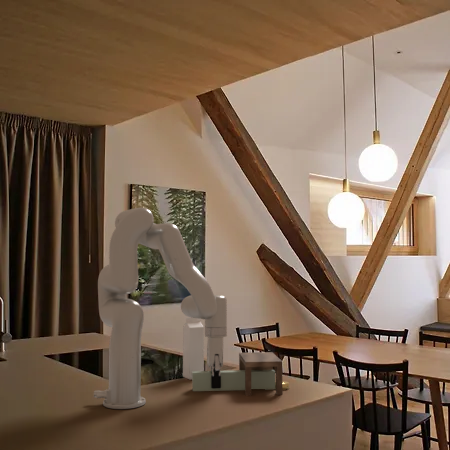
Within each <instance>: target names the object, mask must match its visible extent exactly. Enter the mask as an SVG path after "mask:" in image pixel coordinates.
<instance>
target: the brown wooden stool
mask: <svg viewBox="0 0 450 450" xmlns="http://www.w3.org/2000/svg"><path fill="white" fill-rule="evenodd" d="M238 358H239V359H238V364H239V365H238V366H239V367H238V370H245V390H244V395H245V396H252V390H251V370H274V367H275V382H276V389H275V394H276V395H280V396H283V393H284V392H283V390H282V381H283V361H282V359H280V358H279V357H278V356H277V355H276V354H275V353H274V352H273V351H266V352H265V351H264V352H262V351H261V352H257V351H256V352H238Z"/></svg>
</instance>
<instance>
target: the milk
mask: <svg viewBox="0 0 450 450" xmlns="http://www.w3.org/2000/svg"><path fill="white" fill-rule="evenodd" d="M185 321H186V322H185V323H184V325H183V327H182V346H183V347H182V359H183V360H182V377H183V378H185V379H187V380H190V381H191V380H192V371H205V325H203V323H202V319H198V318H191V317H188V318H186V319H185Z"/></svg>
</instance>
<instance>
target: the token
mask: <svg viewBox="0 0 450 450" xmlns="http://www.w3.org/2000/svg"><path fill="white" fill-rule="evenodd" d="M286 389H287V390H289V389H290V382H288V381H283V380H282V391H285V390H286ZM274 390H276V381H275V389H274ZM287 390H286V391H287Z"/></svg>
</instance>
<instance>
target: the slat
mask: <svg viewBox="0 0 450 450" xmlns="http://www.w3.org/2000/svg"><path fill="white" fill-rule="evenodd" d="M211 376H212V371H211V370H204V371H192V379H191V380H192V383H191V384H192V392H209V391H210V392H211V391H212V392H215V391H216V392H217V391H245V370H239V369H238V370H233V369H232V370H220V376H221V388H211ZM275 382H276V370H275V369H273V370H251V389H265V390H276V389H275Z"/></svg>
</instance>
